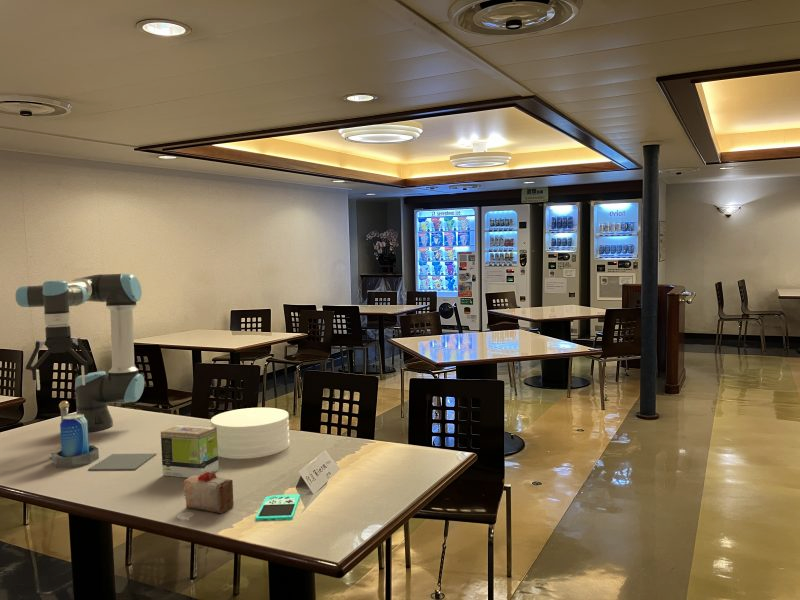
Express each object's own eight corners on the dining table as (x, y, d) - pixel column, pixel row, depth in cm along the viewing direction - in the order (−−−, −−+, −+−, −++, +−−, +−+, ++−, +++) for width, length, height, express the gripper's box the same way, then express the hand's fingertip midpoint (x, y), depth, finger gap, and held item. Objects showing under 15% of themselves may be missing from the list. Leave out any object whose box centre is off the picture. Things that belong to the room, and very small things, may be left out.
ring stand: (63, 451, 227) (60, 398, 226) (111, 450, 226) (108, 398, 225) (31, 467, 209) (28, 411, 208) (84, 467, 208) (80, 410, 207)
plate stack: (195, 454, 220) (194, 423, 219) (243, 433, 246) (242, 405, 245) (261, 462, 209) (259, 429, 209) (303, 439, 235) (302, 410, 235)
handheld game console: (301, 497, 178) (300, 493, 178) (293, 521, 162) (293, 516, 162) (266, 499, 178) (266, 494, 178) (255, 522, 162) (254, 517, 162)
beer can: (94, 457, 219) (92, 413, 218) (79, 465, 210) (77, 419, 209) (72, 457, 220) (69, 413, 219) (56, 464, 211) (54, 419, 210)
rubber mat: (112, 455, 221) (112, 453, 221) (156, 454, 220) (156, 453, 220) (88, 470, 205) (88, 469, 205) (135, 470, 204) (135, 468, 204)
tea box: (219, 470, 202) (217, 425, 202) (200, 480, 193) (198, 434, 192) (182, 465, 207) (180, 422, 206) (161, 476, 198) (159, 430, 197)
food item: (180, 509, 171) (178, 474, 170) (199, 498, 178) (198, 465, 177) (219, 516, 165) (218, 480, 165) (238, 505, 173) (236, 470, 172)
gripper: (14, 329, 200) (18, 393, 202) (98, 323, 213) (102, 384, 214) (15, 327, 207) (19, 389, 208) (97, 322, 219) (100, 380, 221)
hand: (61, 387), depth 211 cm, fingers open, 13 cm apart
